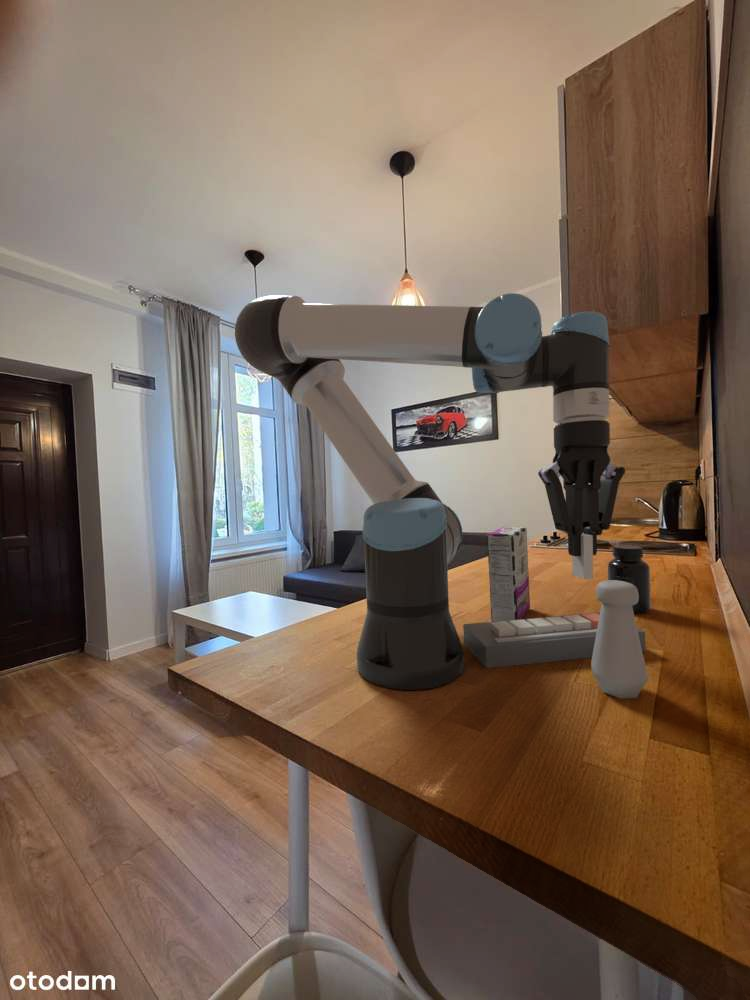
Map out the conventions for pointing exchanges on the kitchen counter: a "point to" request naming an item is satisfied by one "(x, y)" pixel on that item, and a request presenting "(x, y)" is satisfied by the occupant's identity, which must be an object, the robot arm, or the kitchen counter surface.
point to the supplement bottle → (632, 573)
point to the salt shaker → (618, 642)
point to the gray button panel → (534, 639)
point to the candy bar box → (508, 573)
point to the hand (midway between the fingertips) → (582, 576)
